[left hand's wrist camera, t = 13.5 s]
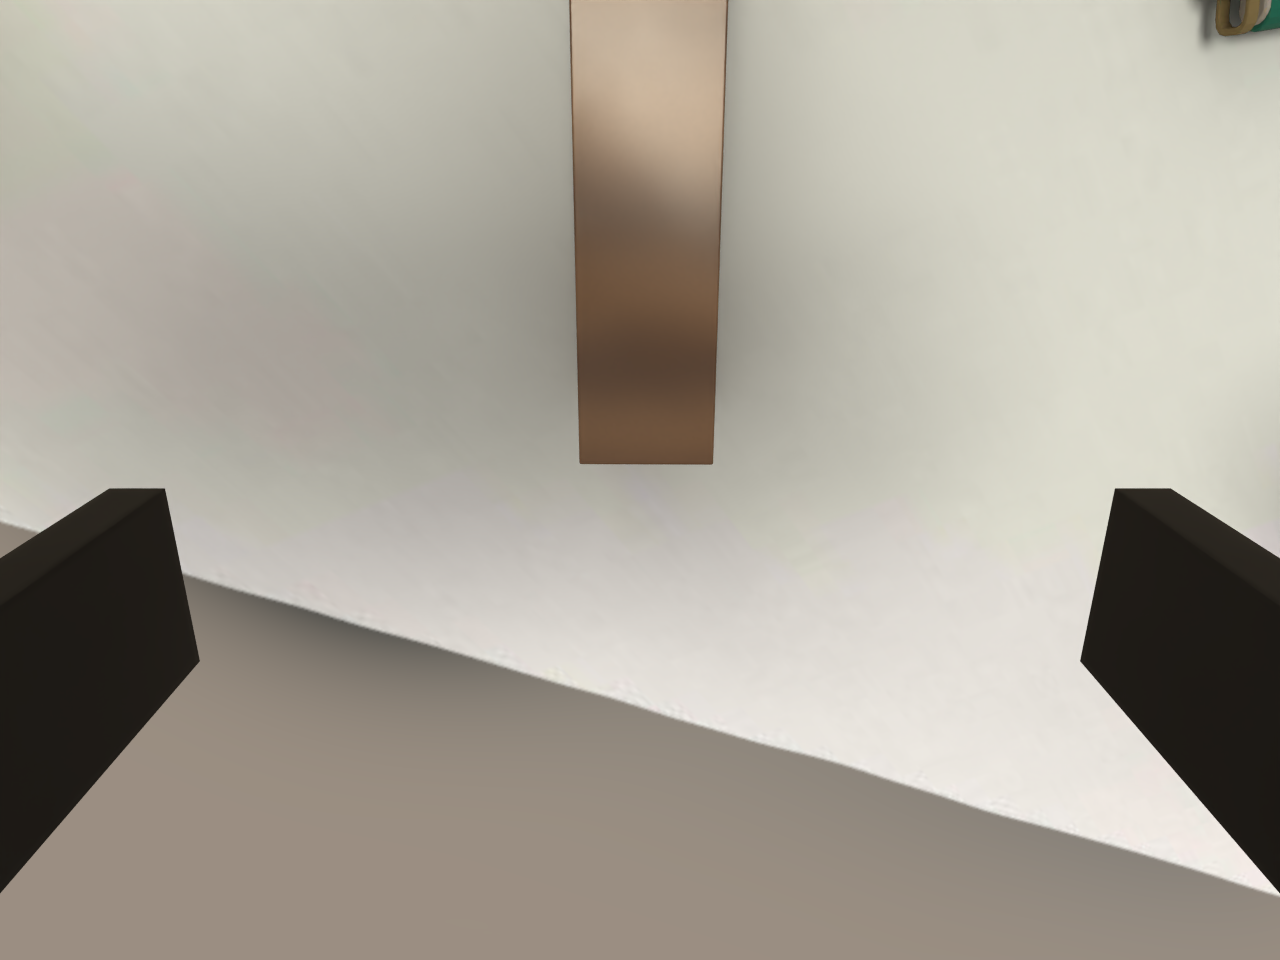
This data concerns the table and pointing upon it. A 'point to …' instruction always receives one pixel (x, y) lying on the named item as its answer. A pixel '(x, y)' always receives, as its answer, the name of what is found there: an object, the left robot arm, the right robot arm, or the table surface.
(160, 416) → the table surface
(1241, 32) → the spray gun
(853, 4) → the table surface
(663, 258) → the post
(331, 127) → the table surface
